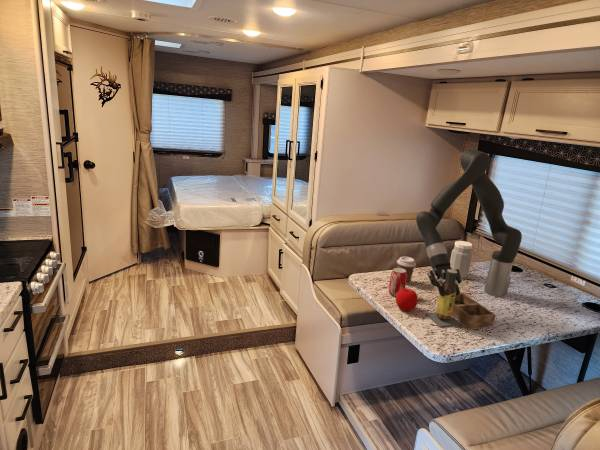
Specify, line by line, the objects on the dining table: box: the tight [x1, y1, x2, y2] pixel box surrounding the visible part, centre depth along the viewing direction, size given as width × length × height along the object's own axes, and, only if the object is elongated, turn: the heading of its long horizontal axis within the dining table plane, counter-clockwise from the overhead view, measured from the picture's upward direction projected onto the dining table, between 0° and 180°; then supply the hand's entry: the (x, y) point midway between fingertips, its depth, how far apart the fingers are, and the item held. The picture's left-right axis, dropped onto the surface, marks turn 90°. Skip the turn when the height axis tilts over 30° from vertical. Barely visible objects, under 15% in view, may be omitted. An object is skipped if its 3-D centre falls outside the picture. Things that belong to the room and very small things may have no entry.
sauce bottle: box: [435, 269, 458, 319], centre depth 157 cm, size 7×6×20 cm
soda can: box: [388, 267, 407, 297], centre depth 178 cm, size 7×7×12 cm
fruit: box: [395, 286, 419, 312], centre depth 166 cm, size 9×9×10 cm
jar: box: [449, 240, 473, 280], centre depth 204 cm, size 10×10×18 cm
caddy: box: [451, 292, 497, 329], centre depth 165 cm, size 12×20×5 cm, turn 16°
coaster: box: [424, 311, 462, 328], centre depth 160 cm, size 10×10×1 cm
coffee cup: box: [396, 256, 417, 285], centre depth 192 cm, size 9×9×12 cm
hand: (450, 295), depth 156 cm, fingers closed on sauce bottle, 6 cm apart
